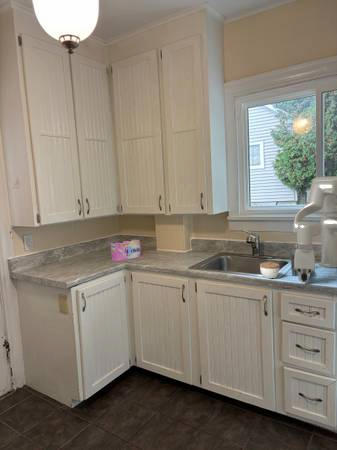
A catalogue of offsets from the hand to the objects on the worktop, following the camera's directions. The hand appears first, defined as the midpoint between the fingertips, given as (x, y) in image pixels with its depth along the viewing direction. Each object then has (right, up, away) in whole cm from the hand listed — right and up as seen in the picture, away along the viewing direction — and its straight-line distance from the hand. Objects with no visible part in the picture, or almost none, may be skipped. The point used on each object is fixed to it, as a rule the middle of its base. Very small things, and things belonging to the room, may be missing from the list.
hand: (304, 280), depth 177 cm
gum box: (-105, +3, +83) cm, 134 cm away
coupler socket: (+7, +1, +22) cm, 23 cm away
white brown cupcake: (-14, -1, +16) cm, 21 cm away
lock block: (+3, -1, +9) cm, 10 cm away
